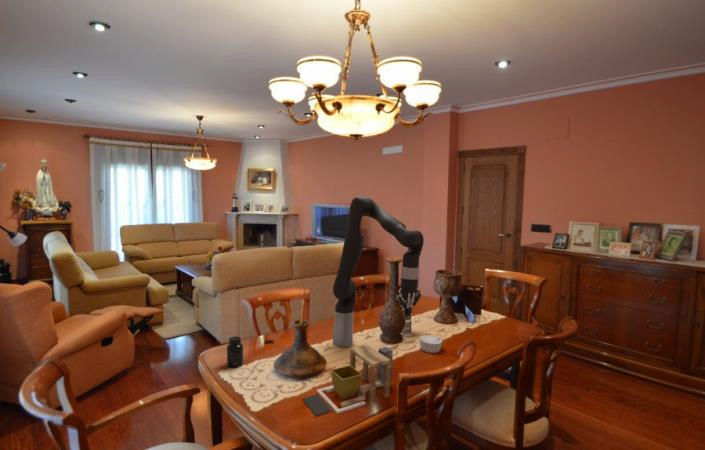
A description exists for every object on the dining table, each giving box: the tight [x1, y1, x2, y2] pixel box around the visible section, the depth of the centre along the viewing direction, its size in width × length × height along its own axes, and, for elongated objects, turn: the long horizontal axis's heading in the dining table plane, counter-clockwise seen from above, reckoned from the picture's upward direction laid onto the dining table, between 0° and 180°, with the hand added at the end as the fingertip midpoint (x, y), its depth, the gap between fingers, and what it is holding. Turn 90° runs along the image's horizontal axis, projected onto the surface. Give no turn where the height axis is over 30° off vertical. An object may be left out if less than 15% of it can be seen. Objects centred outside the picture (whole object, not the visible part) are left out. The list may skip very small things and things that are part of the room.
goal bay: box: [316, 384, 366, 415], centre depth 139 cm, size 12×16×1 cm
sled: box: [326, 346, 394, 408], centre depth 144 cm, size 25×12×14 cm, turn 121°
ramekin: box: [419, 334, 443, 354], centre depth 185 cm, size 11×11×5 cm
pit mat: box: [301, 393, 333, 417], centre depth 134 cm, size 6×12×1 cm, turn 31°
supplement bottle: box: [226, 336, 244, 369], centre depth 163 cm, size 7×7×12 cm
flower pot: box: [330, 364, 363, 400], centre depth 141 cm, size 9×9×9 cm
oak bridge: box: [349, 344, 391, 403], centre depth 145 cm, size 8×16×14 cm, turn 31°
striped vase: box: [398, 287, 414, 337], centre depth 204 cm, size 9×9×25 cm
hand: (407, 315), depth 163 cm, fingers closed
